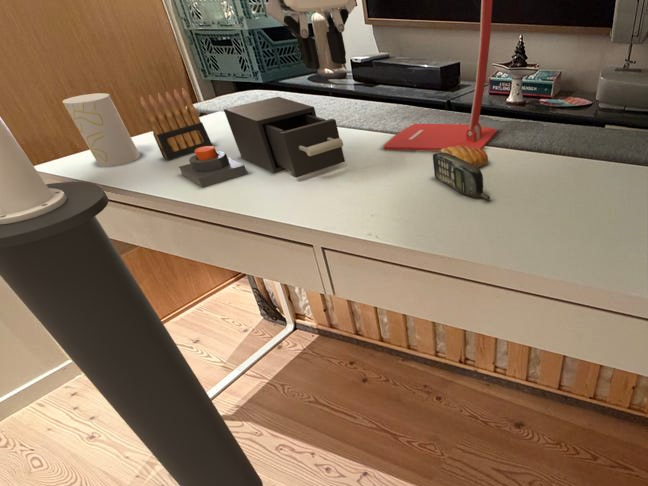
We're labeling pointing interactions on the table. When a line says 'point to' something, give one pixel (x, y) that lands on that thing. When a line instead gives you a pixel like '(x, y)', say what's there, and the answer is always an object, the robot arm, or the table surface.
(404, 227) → the table surface
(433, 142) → the desk lamp
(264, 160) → the cabinet
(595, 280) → the table surface
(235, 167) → the control block
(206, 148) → the button
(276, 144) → the drawer
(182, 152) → the ammunition clip
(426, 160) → the table surface
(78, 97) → the white patterned cylinder
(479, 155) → the pastry
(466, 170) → the mobile phone
